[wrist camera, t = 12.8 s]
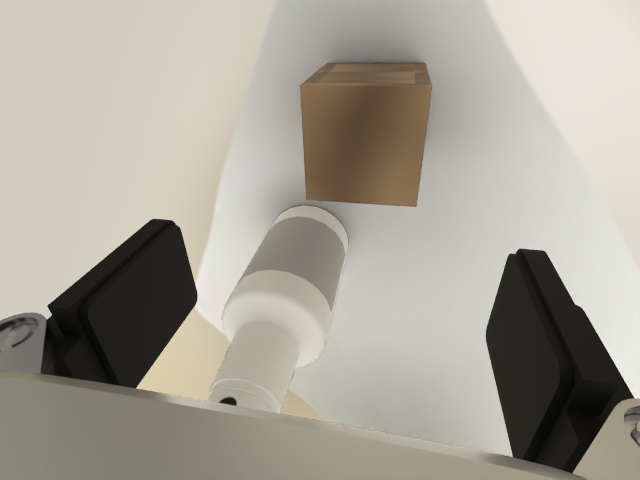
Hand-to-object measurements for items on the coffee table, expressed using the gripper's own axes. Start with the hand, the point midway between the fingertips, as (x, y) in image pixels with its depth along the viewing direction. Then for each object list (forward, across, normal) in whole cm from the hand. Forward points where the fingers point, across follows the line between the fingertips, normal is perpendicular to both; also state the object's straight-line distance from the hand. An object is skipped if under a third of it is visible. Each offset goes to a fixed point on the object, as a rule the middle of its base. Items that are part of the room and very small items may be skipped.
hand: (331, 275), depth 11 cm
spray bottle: (+18, +5, +10) cm, 22 cm away
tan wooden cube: (+17, 0, -1) cm, 17 cm away
